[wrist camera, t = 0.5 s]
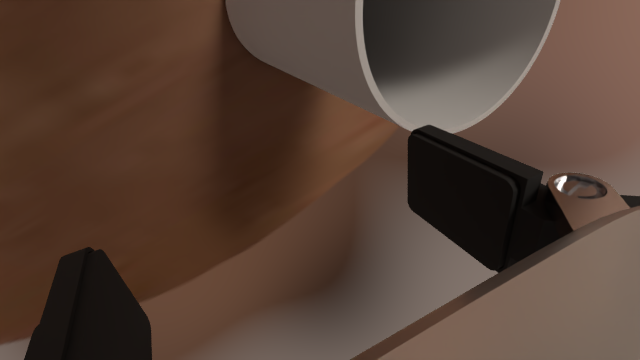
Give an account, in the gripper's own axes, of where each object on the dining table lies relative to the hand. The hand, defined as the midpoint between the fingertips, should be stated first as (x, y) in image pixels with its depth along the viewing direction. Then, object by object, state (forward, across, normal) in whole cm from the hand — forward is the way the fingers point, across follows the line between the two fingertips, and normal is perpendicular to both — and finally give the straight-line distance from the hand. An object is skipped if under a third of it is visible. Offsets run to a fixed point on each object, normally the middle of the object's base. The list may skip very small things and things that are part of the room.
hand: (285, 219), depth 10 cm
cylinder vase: (+30, -12, -4) cm, 32 cm away
